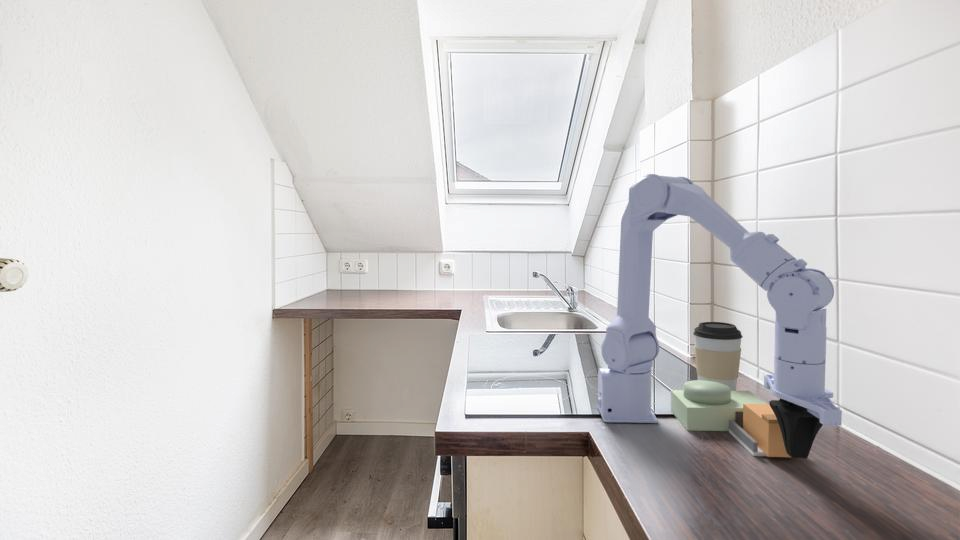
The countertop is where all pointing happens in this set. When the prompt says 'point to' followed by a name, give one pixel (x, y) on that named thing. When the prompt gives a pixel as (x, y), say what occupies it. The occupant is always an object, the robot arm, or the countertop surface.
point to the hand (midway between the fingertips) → (797, 455)
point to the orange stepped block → (764, 429)
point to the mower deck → (714, 410)
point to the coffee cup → (718, 352)
